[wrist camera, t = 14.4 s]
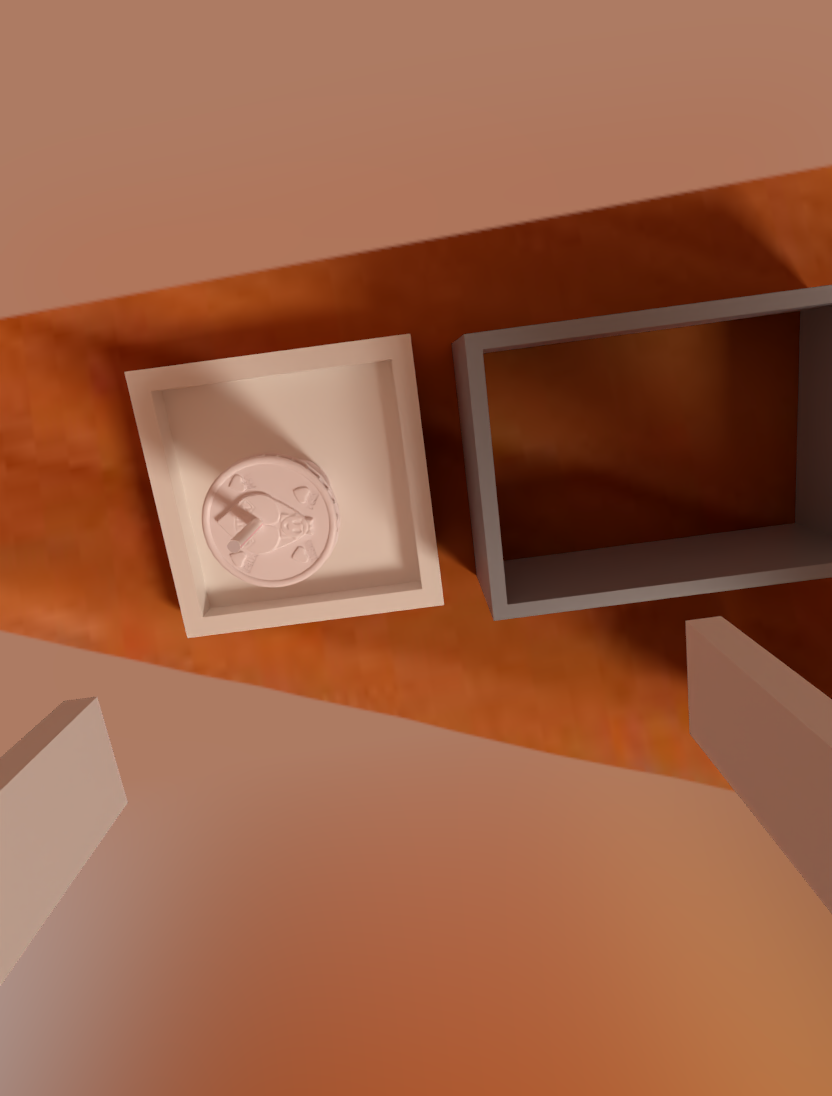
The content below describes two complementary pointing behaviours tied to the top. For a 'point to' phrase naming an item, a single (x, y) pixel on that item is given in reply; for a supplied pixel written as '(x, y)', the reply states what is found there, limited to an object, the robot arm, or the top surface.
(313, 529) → the smoothie
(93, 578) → the top surface
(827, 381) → the deep bin
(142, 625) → the top surface
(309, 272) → the top surface
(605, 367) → the top surface
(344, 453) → the tray
